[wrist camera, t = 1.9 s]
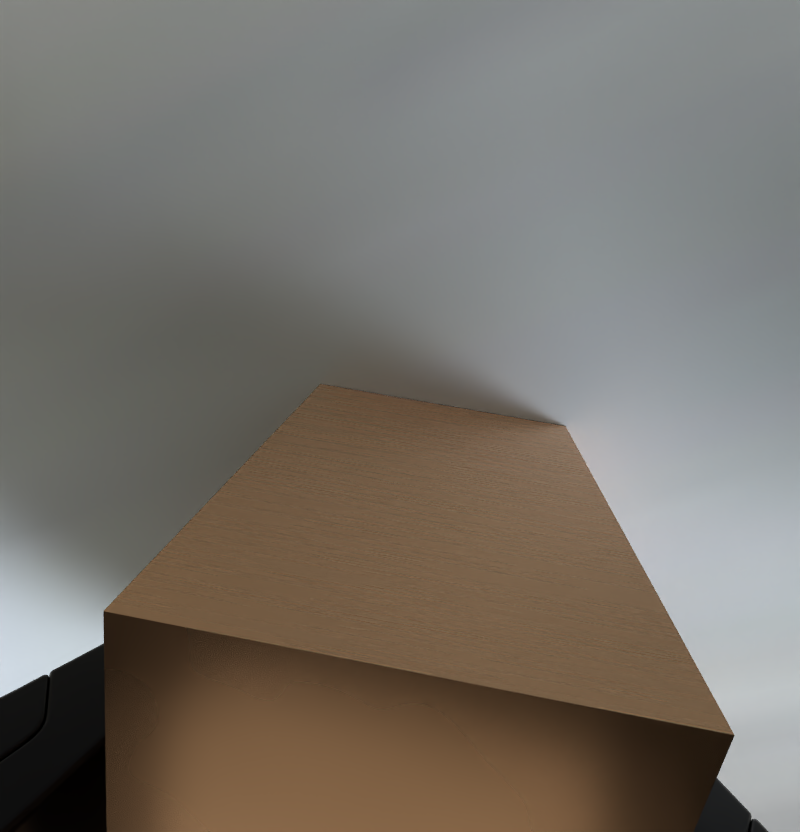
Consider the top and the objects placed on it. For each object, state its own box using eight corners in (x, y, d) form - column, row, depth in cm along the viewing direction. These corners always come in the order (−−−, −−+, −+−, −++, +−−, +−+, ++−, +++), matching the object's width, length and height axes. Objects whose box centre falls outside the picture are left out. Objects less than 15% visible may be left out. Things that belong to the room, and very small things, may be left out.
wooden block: (564, 426, 9) (734, 733, 4) (491, 718, 11) (523, 1232, 5) (320, 384, 9) (102, 610, 4) (288, 678, 11) (110, 1130, 6)
